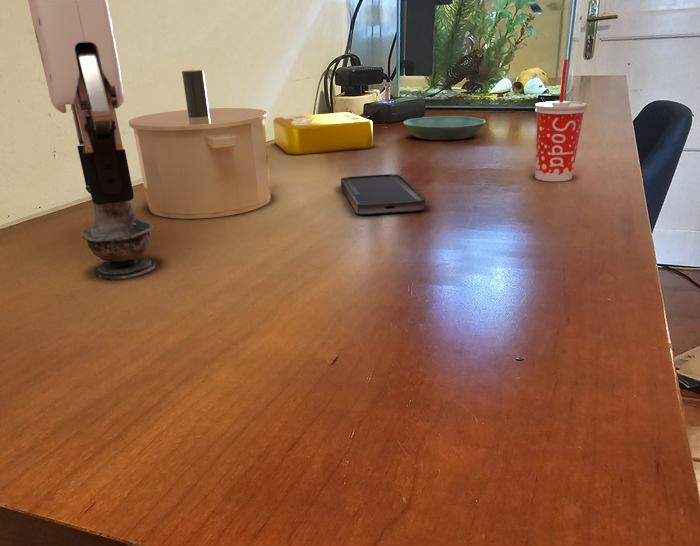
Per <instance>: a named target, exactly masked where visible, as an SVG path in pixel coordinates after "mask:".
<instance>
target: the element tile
mask: <svg viewBox="0 0 700 546" xmlns="http://www.w3.org/2000/svg"><path fill="white" fill-rule="evenodd" d="M272 122H273V135H274V143H275V145H277V146H278V147H280V149H281V150H282V151H284V152H285V153H286V154H288V155H293V156H294V155H295V156H297V155H310V154H321V153H322V154H323V153H331V152H332V153H333V152H343V151H354V150H364V149H370V148H372V147H373V145H374V136H373V133H374V132H373V121H372V120H371V119H368V118H365V117H362V116H360V115H358V114H354V113H352V112H333V113H320V114H307V115H295V116H293V115H292V116H291V115H289V116H281V117H280V116H279V117H275V118H274V119H273V121H272Z"/></svg>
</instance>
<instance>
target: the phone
mask: <svg viewBox="0 0 700 546" xmlns="http://www.w3.org/2000/svg"><path fill="white" fill-rule="evenodd" d="M340 188H341V190H342V192H343V194H344V195H345V197H346V199H347V200H348V202H349V204H350V205H351V207H352V209H353V211H354V212H355V214H357V215H362V216H370V215H371V216H372V215H382V214H397V213H409V212H421V211H424V210H425V209H426V198H425V197H424V195H422V194H421V193H420V191H418V190H417V189H416V188H415V187H414V186H413V185H412V184H411V183H410V182H409V181H407V180H406V178H404V177H403V176H402V175H401V174H397V173H385V174H384V173H383V174H371V175H356V176H355V175H354V176H344V177H341V178H340Z"/></svg>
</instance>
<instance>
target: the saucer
mask: <svg viewBox="0 0 700 546" xmlns="http://www.w3.org/2000/svg"><path fill="white" fill-rule="evenodd" d="M485 124H486V120H485V119H483V118H479V117H473V116H458V115H450V116H449V115H439V116H437V115H436V116H425V117H424V116H423V117H422V116H421V117H415V118H409V119H406V120H404V121H403V125H404V127H405V128H406V130H407V131H408V132H409V133H410V134H411V135H412V136H414V137H415V138H418V139H421V140H430V141H455V140H465V139H469V138H472V137H474V136H475V135H476V134H477V133H478V132H479V131H480V130H481V129H482V128H483V127H484V125H485Z"/></svg>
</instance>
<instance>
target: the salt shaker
mask: <svg viewBox="0 0 700 546" xmlns="http://www.w3.org/2000/svg"><path fill="white" fill-rule="evenodd" d="M83 153H86V152H85V148H83ZM85 191H87V192H88V191H89V192H90V187H89V185H88V186H87V187H86V186H85ZM89 192H88V193H89ZM90 193H91V192H90ZM90 193H89V194H90ZM90 196H91V195H90ZM91 198H92V196H91ZM91 201H92V206H93V211H94V223H93V224H92V226H91V227H88V228H86V229H85V230H83V232H82V233H81V237H82V239H83V240H85V241H86V242H87V246H88V248H89V250H90V251H91V252H92V254H93V255H95V256H96V257H97V258H98V259H100V260H102V261H103V262H102V263H100V264H99V265H98V266H97V267H96V268H95V269H94V271H93V273H94V276H95V277H96V278H99V279H102V280H108V281H109V280H111V281H113V280H114V281H117V280H125V279H132V278H136V277H140V276H143V275H147V274H148V273H150V272H152V271H154V269H156V267H157V263H156V262H155V260H153V259H151V258H148V257H147V256H143V255H144V254H145V253H146V251H147V250H148V248H149V247H150V244H151V243H150V242H151V237H152V236H151V232H152V230H153V229H154V227H153V224H152V223H150V222H149V221H146V220H145V221H144V220H140V219H139V218H137V217H136V215H135V212H134V210H133V208H132V203H131V200H130V201H123V202H115V203H108V204H101V205H97V204H95V203H94V202H93V200H92V199H91Z"/></svg>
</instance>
